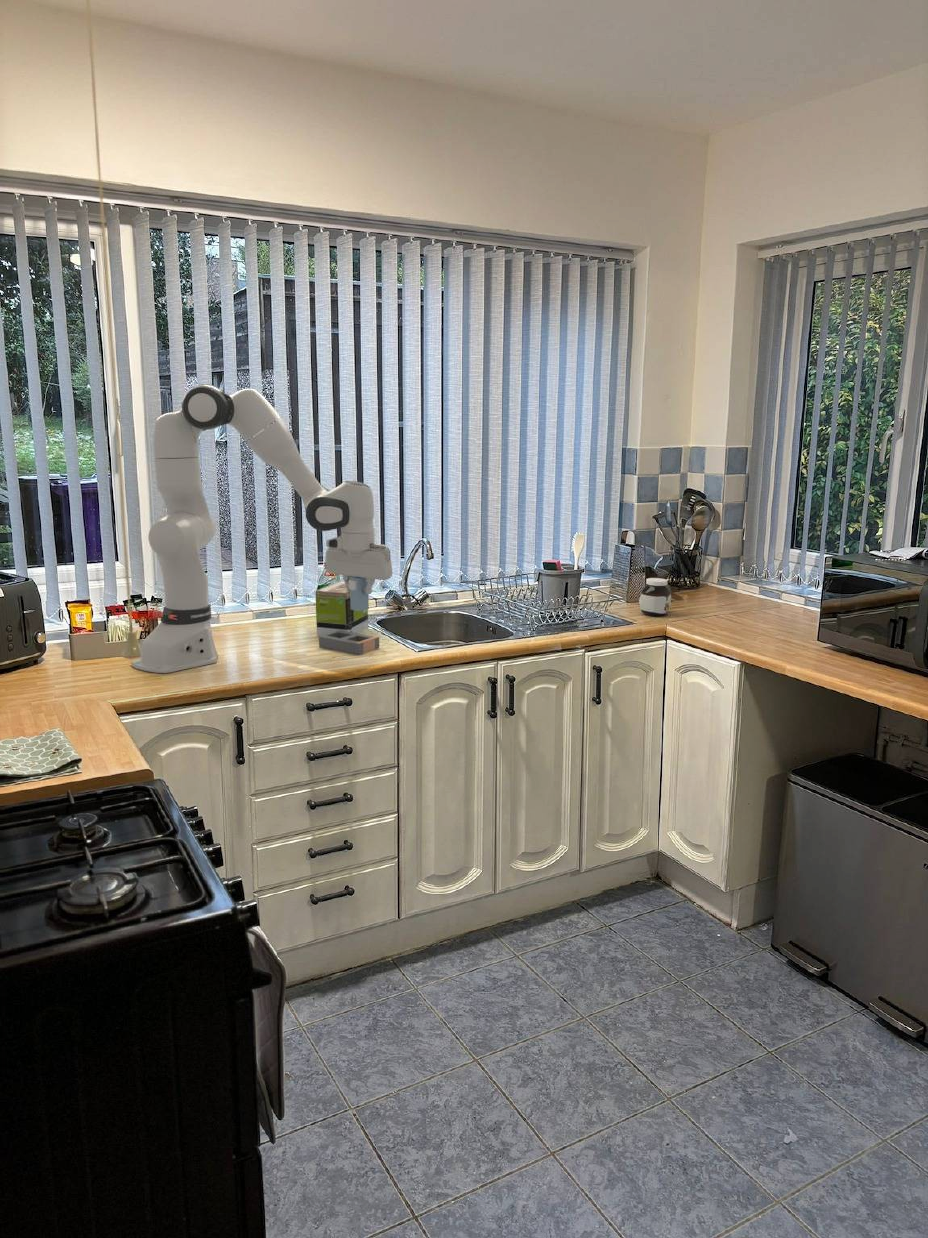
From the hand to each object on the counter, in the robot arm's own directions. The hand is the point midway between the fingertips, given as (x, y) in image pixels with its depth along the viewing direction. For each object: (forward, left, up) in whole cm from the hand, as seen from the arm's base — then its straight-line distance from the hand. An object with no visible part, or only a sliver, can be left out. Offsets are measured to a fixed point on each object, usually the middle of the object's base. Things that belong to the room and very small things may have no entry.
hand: (359, 592), depth 253 cm
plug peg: (0, 0, -5) cm, 5 cm away
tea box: (+13, +17, -17) cm, 27 cm away
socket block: (0, +4, -17) cm, 17 cm away
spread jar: (+96, -47, -17) cm, 108 cm away
